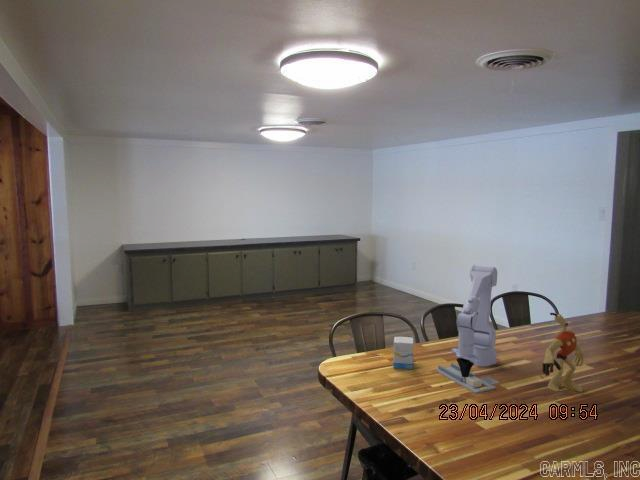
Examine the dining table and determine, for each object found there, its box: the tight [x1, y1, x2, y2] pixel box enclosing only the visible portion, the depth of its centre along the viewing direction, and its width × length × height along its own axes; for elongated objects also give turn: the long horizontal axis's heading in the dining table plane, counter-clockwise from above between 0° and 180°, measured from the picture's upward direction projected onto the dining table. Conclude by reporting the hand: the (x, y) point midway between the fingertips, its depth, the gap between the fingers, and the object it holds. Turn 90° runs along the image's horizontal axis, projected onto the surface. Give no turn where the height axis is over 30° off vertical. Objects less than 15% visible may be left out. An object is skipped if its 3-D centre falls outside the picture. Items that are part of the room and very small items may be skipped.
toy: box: [542, 312, 586, 397], centre depth 164 cm, size 23×9×30 cm, turn 117°
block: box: [465, 376, 482, 389], centre depth 169 cm, size 4×4×4 cm
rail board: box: [435, 362, 497, 394], centre depth 175 cm, size 10×23×4 cm, turn 23°
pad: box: [479, 376, 501, 385], centre depth 173 cm, size 5×6×2 cm
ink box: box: [392, 336, 414, 370], centre depth 193 cm, size 8×8×12 cm
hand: (465, 376), depth 174 cm, fingers closed
